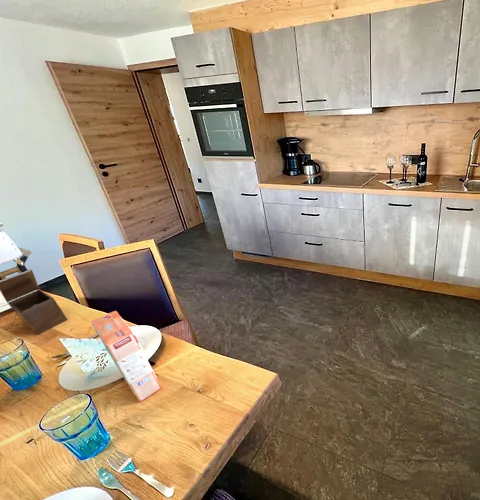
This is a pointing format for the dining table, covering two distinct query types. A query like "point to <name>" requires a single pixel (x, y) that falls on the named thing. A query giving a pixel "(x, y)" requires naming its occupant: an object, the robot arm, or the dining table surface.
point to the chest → (38, 311)
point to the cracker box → (127, 354)
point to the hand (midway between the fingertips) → (14, 279)
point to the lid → (17, 283)
